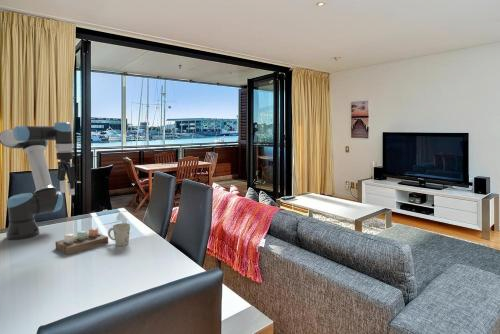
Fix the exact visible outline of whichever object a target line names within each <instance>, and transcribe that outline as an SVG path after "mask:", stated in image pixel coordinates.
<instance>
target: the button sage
mask: <svg viewBox="0 0 500 334" xmlns="http://www.w3.org/2000/svg"><path fill="white" fill-rule="evenodd" d="M87 234H88V233H87V230H80V231H77V232H76V236H77V241H84V240H87Z"/></svg>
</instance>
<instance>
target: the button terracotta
mask: <svg viewBox="0 0 500 334" xmlns="http://www.w3.org/2000/svg"><path fill="white" fill-rule="evenodd" d="M88 233H89V238H95V237H98V233H99V228H98V227H91V228H89V229H88Z"/></svg>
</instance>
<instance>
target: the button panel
mask: <svg viewBox="0 0 500 334" xmlns="http://www.w3.org/2000/svg"><path fill="white" fill-rule="evenodd" d="M107 244H109V236H108V235H104V234H102V233H99V232H98V237H95V238H89V232H88V233H87V240H84V241H77V235H76V236H75V243H72V244H65V239H60V240H56V241H55V249H57V250H58V251H59V252H62V253H64V254H66V255H68V256H70V255H72V254H75V253H80V252H82V251H86V250H89V249H90V250H91V249H93V248H97V247H100V246H103V245H107Z"/></svg>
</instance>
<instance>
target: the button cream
mask: <svg viewBox="0 0 500 334" xmlns="http://www.w3.org/2000/svg"><path fill="white" fill-rule="evenodd" d="M63 237H64V239H65V244H72V243H75V237H76V236H75V233H67V234H66V233H65V234H64V236H63ZM64 239H63V240H64Z"/></svg>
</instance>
